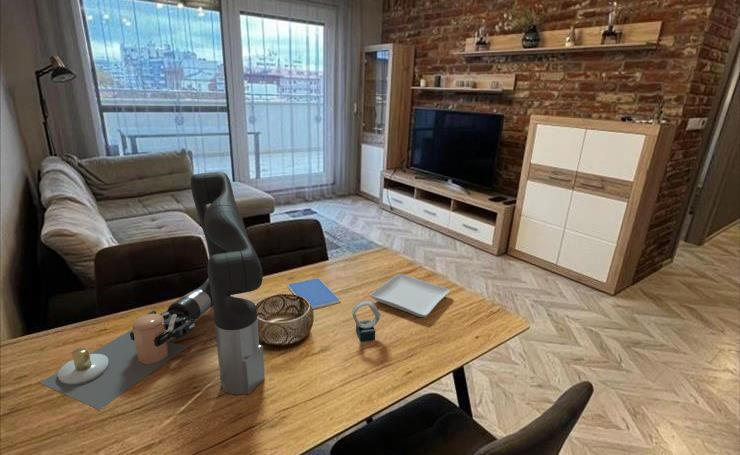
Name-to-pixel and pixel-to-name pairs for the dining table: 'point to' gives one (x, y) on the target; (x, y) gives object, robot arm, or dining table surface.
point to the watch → (366, 322)
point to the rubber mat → (112, 373)
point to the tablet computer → (314, 293)
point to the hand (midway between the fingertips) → (143, 340)
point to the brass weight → (81, 359)
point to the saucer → (74, 377)
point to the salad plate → (410, 295)
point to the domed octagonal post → (149, 338)
